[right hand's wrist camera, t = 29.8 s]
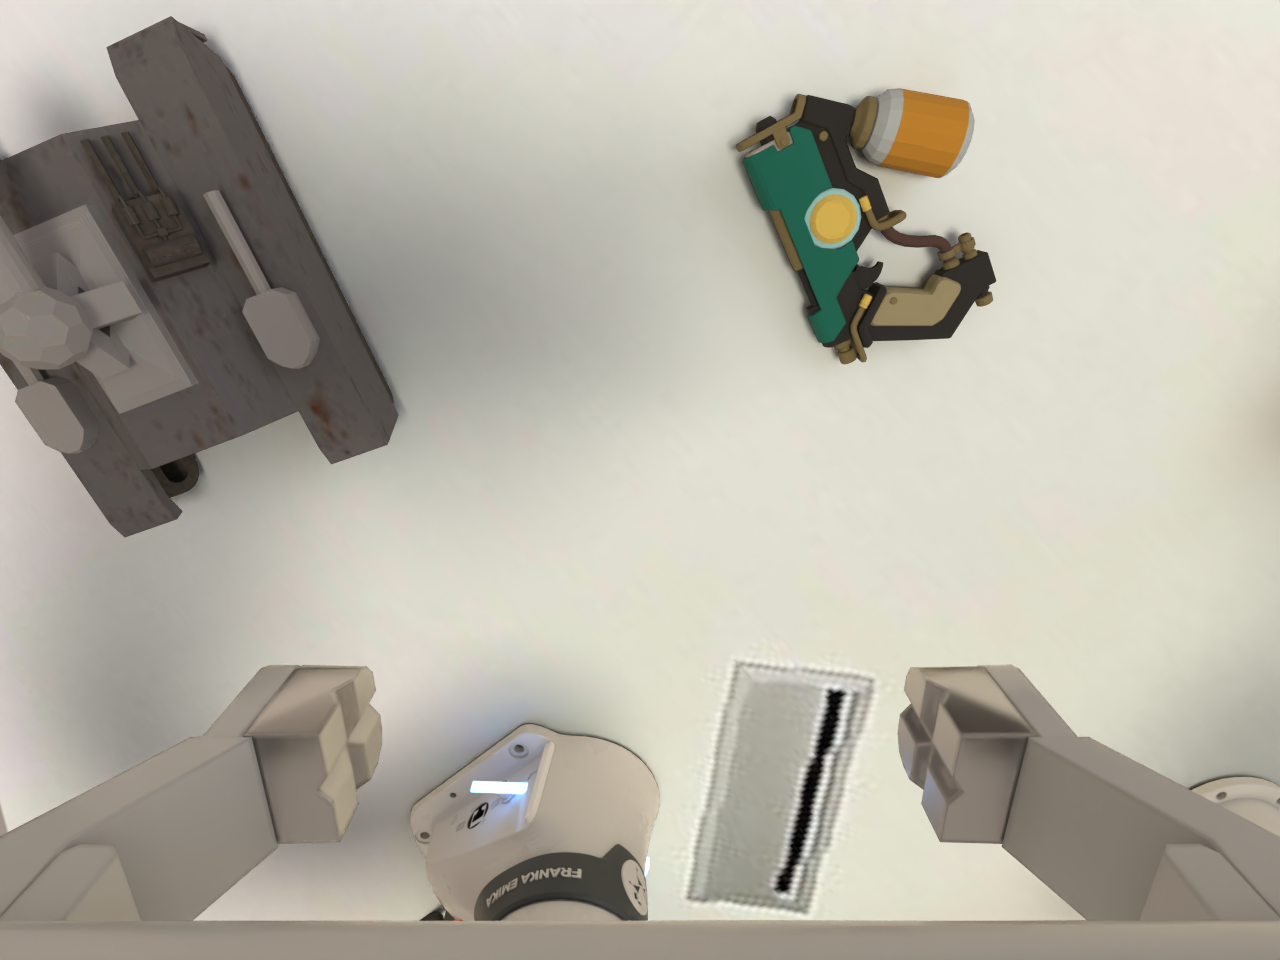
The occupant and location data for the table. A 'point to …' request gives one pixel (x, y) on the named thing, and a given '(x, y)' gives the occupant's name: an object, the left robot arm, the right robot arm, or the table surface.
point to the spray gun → (865, 213)
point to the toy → (172, 290)
